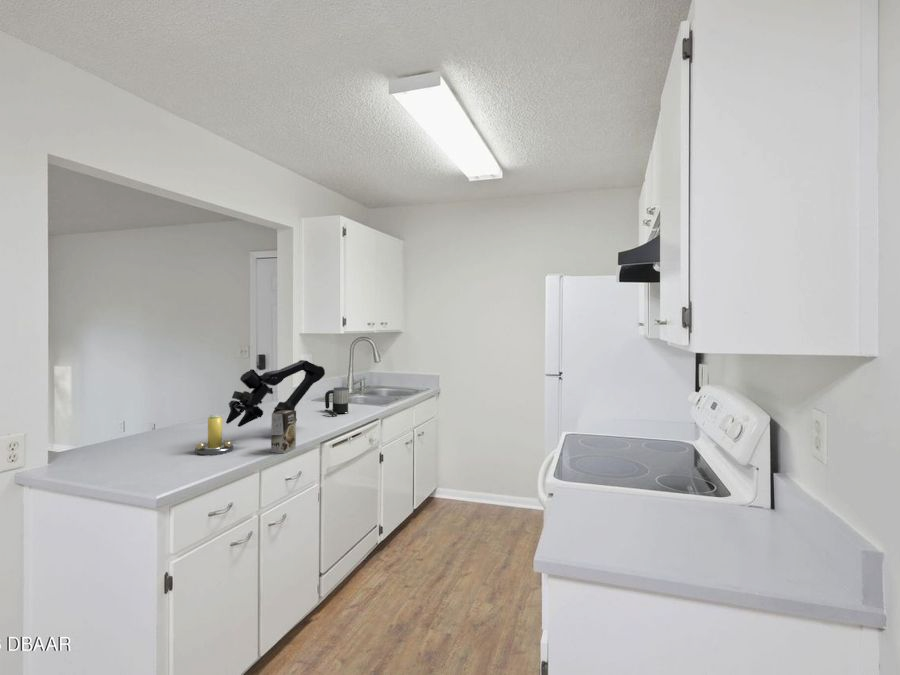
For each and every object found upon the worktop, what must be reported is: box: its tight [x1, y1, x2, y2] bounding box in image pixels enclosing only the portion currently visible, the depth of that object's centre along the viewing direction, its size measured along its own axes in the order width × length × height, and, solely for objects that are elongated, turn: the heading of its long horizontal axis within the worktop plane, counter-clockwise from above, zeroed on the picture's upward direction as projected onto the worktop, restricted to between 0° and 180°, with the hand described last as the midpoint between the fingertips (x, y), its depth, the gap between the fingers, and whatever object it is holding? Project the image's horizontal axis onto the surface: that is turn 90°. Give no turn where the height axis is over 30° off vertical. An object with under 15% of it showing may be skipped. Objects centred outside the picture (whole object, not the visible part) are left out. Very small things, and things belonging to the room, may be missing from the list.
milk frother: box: [324, 386, 350, 417], centre depth 277 cm, size 14×16×15 cm
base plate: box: [194, 440, 234, 456], centre depth 194 cm, size 14×14×4 cm
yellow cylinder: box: [207, 414, 223, 449], centre depth 194 cm, size 5×5×13 cm
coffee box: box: [270, 409, 297, 454], centre depth 197 cm, size 9×6×16 cm
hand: (232, 424), depth 200 cm, fingers open, 9 cm apart
